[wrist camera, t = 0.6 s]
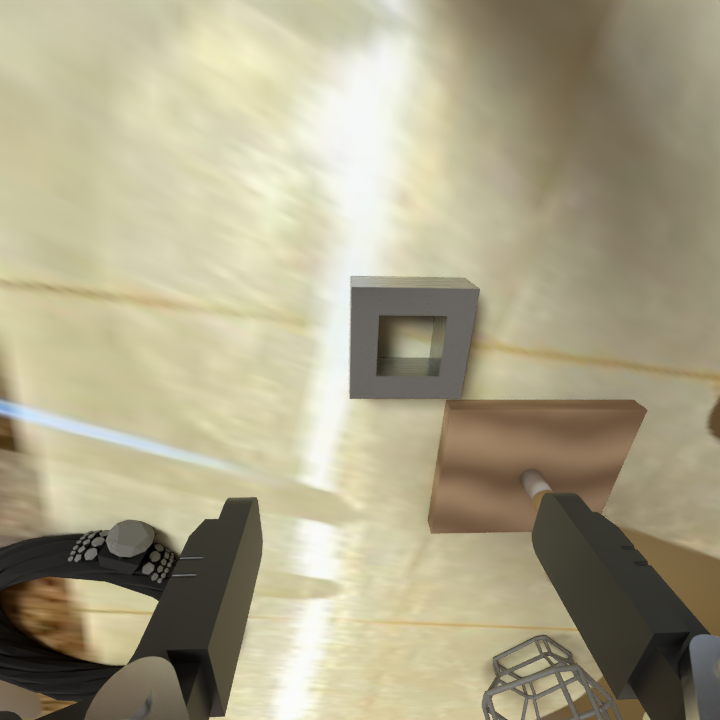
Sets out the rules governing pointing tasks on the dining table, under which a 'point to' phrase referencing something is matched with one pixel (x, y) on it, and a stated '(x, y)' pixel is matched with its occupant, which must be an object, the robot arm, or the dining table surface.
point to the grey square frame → (410, 298)
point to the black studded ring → (77, 561)
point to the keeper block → (526, 459)
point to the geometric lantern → (556, 669)
